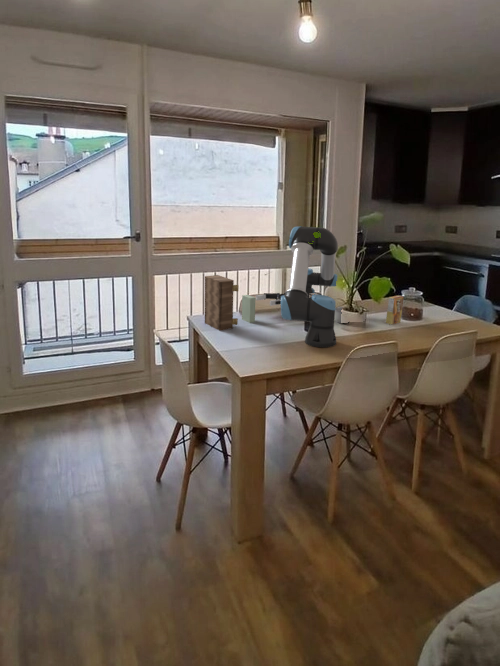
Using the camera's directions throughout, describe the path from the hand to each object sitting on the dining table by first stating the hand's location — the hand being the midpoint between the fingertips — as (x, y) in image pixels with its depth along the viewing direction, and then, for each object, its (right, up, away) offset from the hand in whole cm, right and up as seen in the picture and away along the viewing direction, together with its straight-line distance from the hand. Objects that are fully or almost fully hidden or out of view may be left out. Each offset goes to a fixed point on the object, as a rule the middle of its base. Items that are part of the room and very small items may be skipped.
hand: (263, 300), depth 277 cm
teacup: (+45, -12, +2) cm, 47 cm away
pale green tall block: (-8, -12, -3) cm, 15 cm away
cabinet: (-23, -15, -14) cm, 31 cm away
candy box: (+75, -13, +2) cm, 76 cm away
